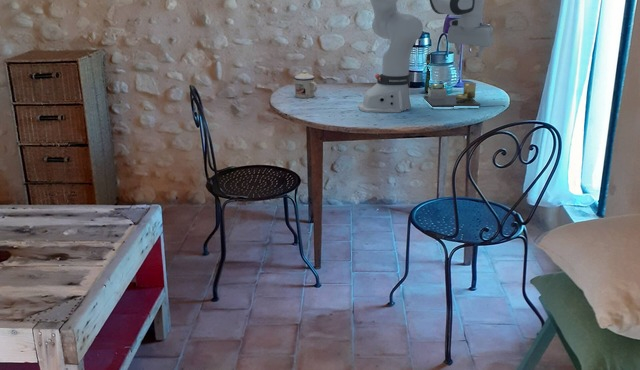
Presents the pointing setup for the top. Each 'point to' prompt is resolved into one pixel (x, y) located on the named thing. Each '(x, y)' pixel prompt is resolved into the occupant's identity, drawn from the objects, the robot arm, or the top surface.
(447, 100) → the tribrach plate
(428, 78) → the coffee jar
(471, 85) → the brown boot
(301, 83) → the teacup with lid
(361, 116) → the top surface
